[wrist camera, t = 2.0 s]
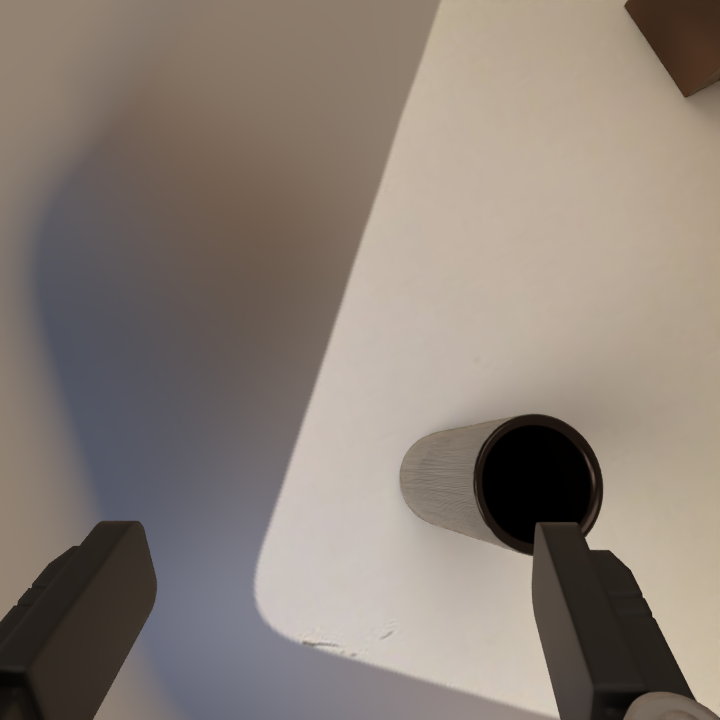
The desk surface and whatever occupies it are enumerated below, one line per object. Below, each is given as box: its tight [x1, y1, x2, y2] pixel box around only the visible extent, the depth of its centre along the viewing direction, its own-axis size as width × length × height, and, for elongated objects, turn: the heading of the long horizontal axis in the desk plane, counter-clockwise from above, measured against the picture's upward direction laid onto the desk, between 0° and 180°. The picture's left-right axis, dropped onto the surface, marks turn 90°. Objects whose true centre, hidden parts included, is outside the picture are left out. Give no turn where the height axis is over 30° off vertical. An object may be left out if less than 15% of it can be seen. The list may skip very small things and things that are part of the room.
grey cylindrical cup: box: [400, 414, 603, 556], centre depth 23 cm, size 4×4×10 cm
